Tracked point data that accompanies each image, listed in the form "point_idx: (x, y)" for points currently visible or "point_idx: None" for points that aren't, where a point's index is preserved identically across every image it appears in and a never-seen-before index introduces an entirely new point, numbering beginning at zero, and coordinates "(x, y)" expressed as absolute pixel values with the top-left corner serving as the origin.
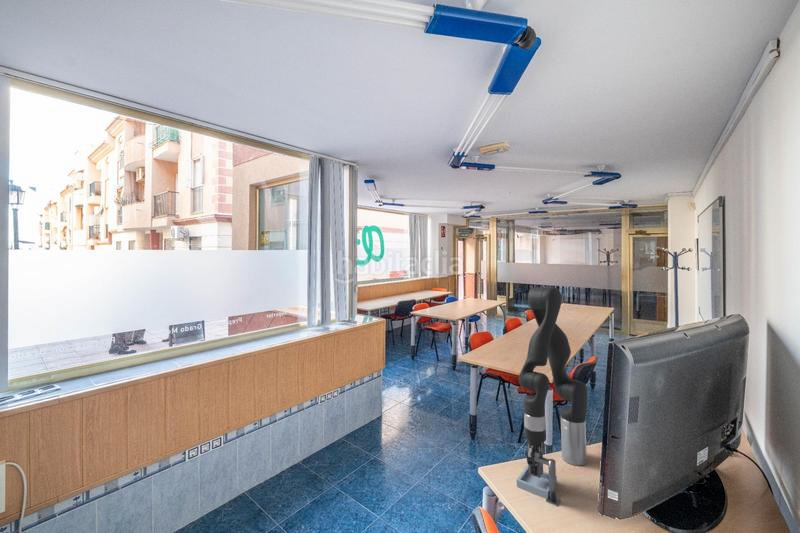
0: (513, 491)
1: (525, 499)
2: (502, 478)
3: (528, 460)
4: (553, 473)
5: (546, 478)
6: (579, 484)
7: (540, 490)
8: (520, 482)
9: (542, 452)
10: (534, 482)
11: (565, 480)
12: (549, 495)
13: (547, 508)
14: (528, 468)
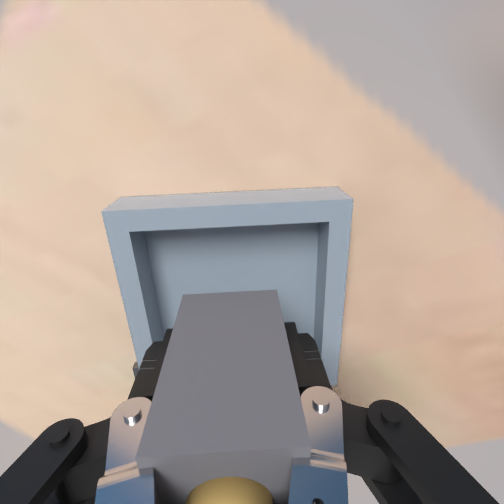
0: (58, 200)
1: (58, 284)
2: (121, 59)
3: (4, 502)
4: None
5: (315, 319)
6: None
7: (139, 359)
8: (112, 239)
9: (372, 491)
10: (234, 277)
11: (372, 376)
12: None
13: (93, 380)
14: (174, 323)
